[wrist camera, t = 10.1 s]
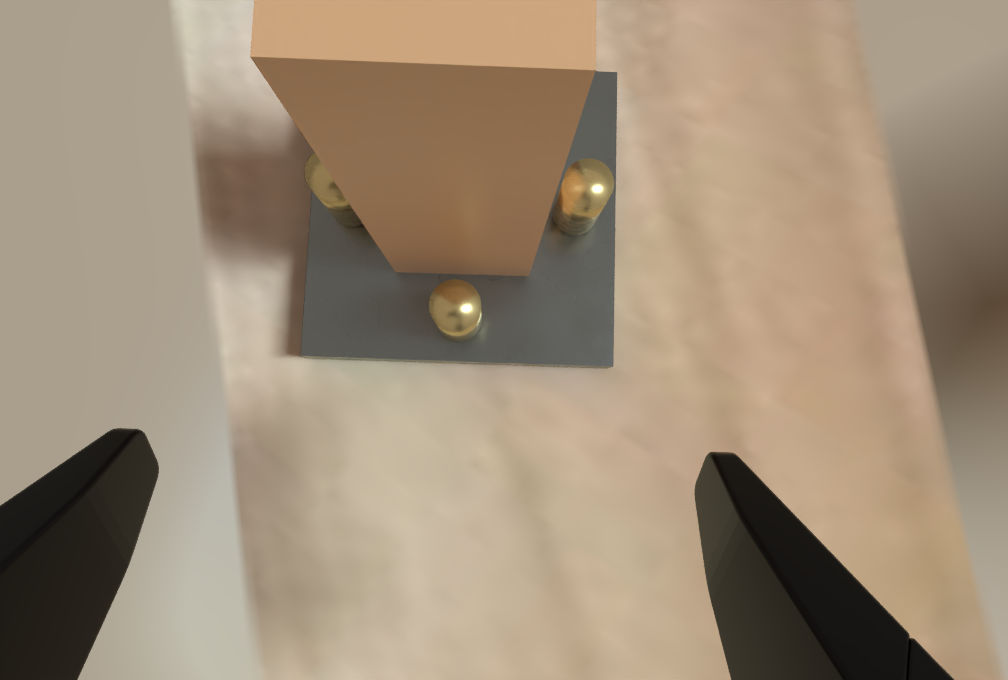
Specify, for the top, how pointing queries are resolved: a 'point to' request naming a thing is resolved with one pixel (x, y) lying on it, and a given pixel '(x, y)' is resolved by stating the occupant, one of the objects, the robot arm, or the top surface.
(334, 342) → the chassis
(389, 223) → the block
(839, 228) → the top surface
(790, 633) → the robot arm
